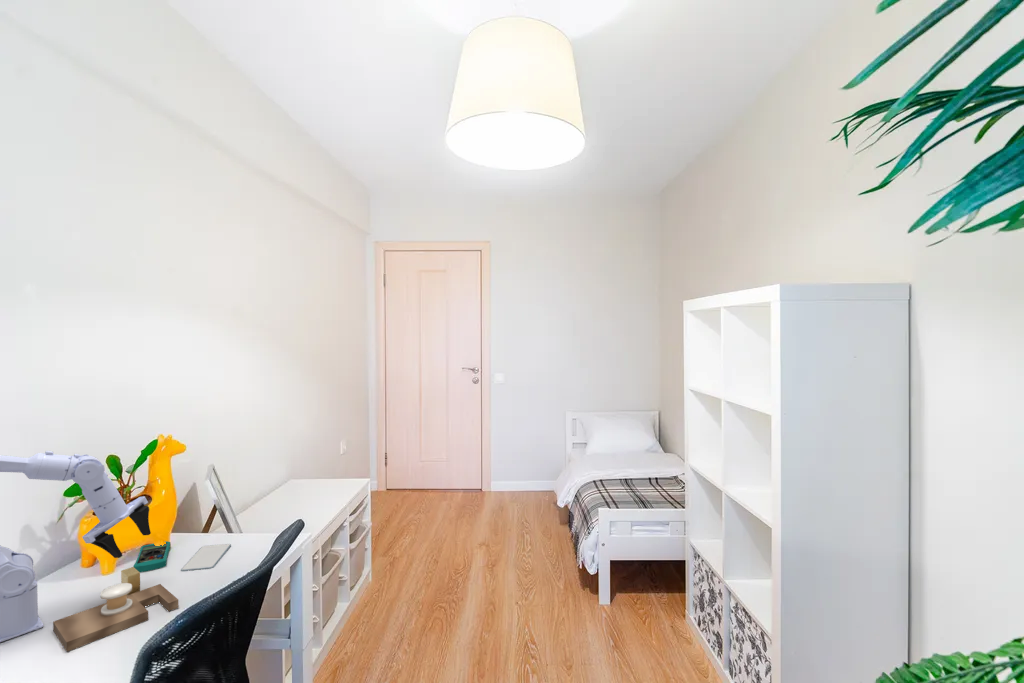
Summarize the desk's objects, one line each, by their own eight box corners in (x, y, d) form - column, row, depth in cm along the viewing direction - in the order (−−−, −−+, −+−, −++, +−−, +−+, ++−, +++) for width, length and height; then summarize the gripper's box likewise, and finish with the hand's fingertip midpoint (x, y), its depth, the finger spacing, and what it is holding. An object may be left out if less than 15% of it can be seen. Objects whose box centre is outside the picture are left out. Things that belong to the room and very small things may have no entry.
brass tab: (127, 600, 119) (127, 576, 119) (121, 594, 122) (121, 570, 122) (140, 596, 121) (139, 572, 121) (133, 590, 124) (133, 566, 124)
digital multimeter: (132, 576, 132) (132, 565, 132) (140, 554, 145) (140, 544, 145) (165, 569, 136) (165, 559, 136) (170, 548, 149) (170, 539, 149)
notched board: (66, 652, 100) (66, 642, 100) (53, 630, 107) (53, 621, 107) (178, 607, 116) (178, 599, 116) (160, 591, 123) (160, 583, 123)
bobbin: (105, 618, 108) (104, 598, 108) (97, 610, 112) (97, 590, 111) (135, 607, 113) (135, 588, 113) (127, 599, 116) (127, 580, 116)
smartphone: (179, 570, 134) (201, 545, 148) (179, 573, 134) (201, 548, 148) (213, 567, 135) (232, 543, 150) (213, 570, 135) (232, 546, 150)
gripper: (86, 520, 111) (116, 567, 115) (144, 481, 124) (169, 524, 128) (65, 522, 113) (96, 567, 117) (125, 483, 126) (150, 525, 130)
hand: (133, 545), depth 122 cm, fingers open, 7 cm apart
